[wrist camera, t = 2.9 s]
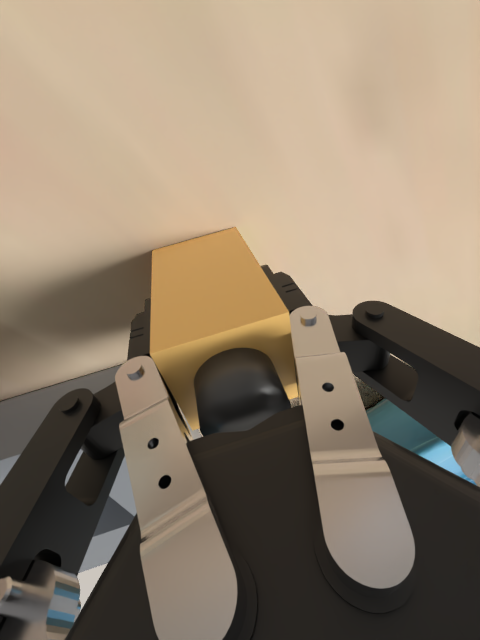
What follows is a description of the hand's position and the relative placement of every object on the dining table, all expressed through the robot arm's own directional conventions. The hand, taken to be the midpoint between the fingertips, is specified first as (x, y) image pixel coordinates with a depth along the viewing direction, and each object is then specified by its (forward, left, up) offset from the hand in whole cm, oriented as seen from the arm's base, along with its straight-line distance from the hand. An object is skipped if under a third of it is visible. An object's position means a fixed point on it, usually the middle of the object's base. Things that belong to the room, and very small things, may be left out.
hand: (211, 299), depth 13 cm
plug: (0, 0, -2) cm, 2 cm away
